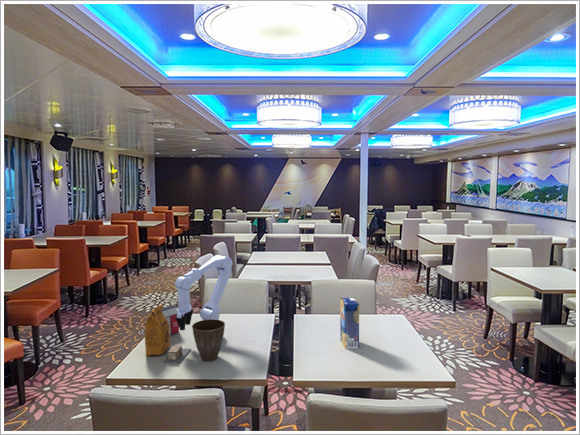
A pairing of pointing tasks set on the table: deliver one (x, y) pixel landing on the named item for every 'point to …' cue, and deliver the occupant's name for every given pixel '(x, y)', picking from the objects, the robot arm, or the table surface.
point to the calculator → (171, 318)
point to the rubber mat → (184, 353)
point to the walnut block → (174, 352)
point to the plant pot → (208, 338)
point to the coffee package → (156, 333)
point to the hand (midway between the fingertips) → (185, 327)
